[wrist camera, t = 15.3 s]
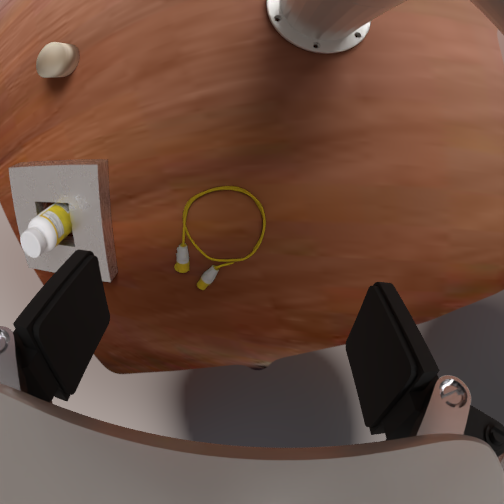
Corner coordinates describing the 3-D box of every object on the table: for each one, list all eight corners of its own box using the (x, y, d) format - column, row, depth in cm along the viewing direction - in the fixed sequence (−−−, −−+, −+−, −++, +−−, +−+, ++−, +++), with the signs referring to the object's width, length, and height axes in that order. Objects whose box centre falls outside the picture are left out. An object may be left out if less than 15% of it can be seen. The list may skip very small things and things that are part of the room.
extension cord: (147, 229, 40) (142, 235, 38) (236, 166, 36) (235, 170, 34) (198, 288, 45) (196, 296, 43) (286, 238, 41) (288, 245, 39)
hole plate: (20, 162, 34) (8, 167, 31) (107, 159, 34) (97, 164, 32) (37, 258, 42) (28, 267, 40) (117, 271, 43) (110, 282, 41)
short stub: (55, 48, 26) (38, 46, 22) (81, 41, 26) (65, 38, 22) (51, 79, 28) (34, 80, 24) (77, 74, 28) (61, 74, 25)
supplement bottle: (58, 232, 40) (25, 263, 31) (49, 201, 37) (11, 228, 29) (83, 229, 40) (49, 261, 31) (73, 196, 37) (35, 224, 28)
